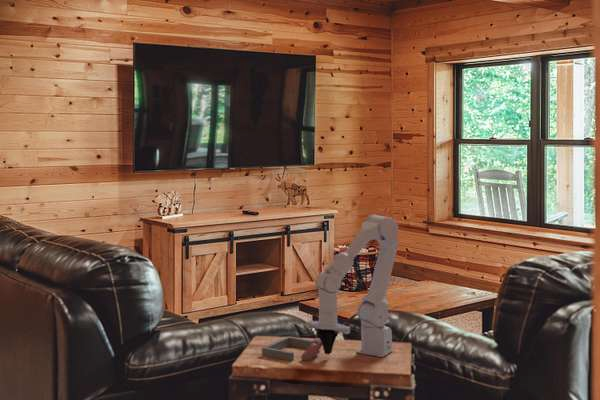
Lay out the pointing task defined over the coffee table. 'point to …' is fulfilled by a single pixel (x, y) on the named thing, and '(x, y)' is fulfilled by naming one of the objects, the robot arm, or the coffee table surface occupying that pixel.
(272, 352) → the controller dock
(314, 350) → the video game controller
